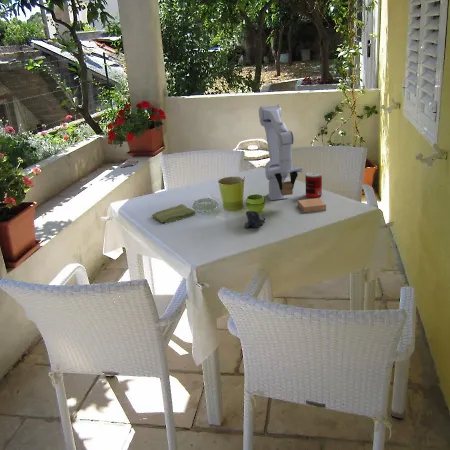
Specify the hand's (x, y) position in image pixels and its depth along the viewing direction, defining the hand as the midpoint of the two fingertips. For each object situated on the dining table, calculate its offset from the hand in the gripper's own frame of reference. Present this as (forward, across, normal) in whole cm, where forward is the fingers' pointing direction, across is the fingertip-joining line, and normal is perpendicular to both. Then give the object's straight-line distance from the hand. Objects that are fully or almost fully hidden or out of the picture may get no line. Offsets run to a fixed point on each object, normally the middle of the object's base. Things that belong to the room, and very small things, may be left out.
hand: (286, 188), depth 218 cm
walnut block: (+2, 0, 0) cm, 2 cm away
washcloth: (+10, -52, +6) cm, 53 cm away
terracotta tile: (+9, +10, -4) cm, 14 cm away
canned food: (+9, +16, +12) cm, 22 cm away
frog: (+9, -18, -18) cm, 27 cm away
